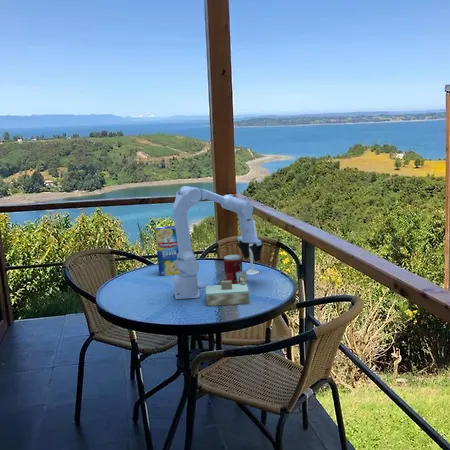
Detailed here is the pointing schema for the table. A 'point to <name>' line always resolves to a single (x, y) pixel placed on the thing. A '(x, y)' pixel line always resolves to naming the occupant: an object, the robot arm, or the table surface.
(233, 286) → the lid
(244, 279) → the bolt
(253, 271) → the champagne flute
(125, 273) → the table surface
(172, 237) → the beverage box
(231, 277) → the canned food
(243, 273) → the bolt keeper
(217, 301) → the wooden tray
